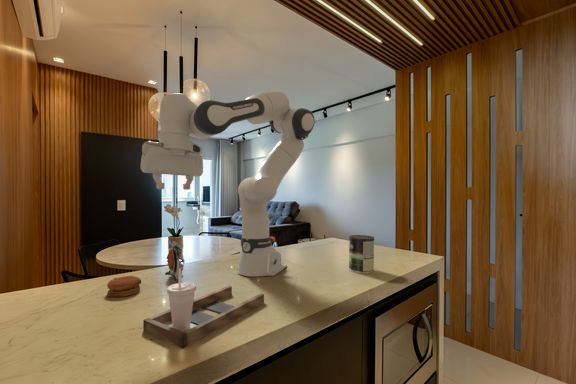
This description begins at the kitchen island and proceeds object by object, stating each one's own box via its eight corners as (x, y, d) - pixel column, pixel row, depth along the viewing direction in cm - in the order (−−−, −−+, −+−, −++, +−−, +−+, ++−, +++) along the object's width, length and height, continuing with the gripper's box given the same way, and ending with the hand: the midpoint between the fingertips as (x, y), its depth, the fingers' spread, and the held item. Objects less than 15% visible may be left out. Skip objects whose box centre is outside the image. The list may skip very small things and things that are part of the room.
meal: (162, 274, 108) (163, 241, 108) (174, 272, 110) (174, 240, 110) (172, 284, 95) (172, 247, 96) (184, 282, 98) (185, 245, 98)
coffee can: (350, 273, 111) (350, 238, 111) (348, 266, 121) (348, 234, 121) (376, 274, 109) (376, 239, 109) (372, 267, 119) (372, 235, 120)
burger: (136, 296, 84) (136, 281, 85) (102, 299, 82) (102, 284, 82) (143, 286, 94) (143, 272, 94) (112, 289, 91) (112, 275, 91)
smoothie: (161, 328, 63) (162, 267, 64) (187, 319, 68) (188, 263, 68) (174, 338, 59) (174, 273, 59) (201, 327, 64) (201, 267, 64)
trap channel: (228, 293, 87) (228, 285, 87) (264, 302, 80) (264, 294, 80) (143, 330, 63) (143, 319, 63) (182, 348, 56) (182, 336, 56)
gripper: (149, 138, 76) (148, 188, 75) (206, 149, 93) (205, 189, 93) (136, 140, 79) (135, 188, 79) (193, 150, 96) (193, 189, 96)
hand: (174, 189), depth 86 cm, fingers open, 8 cm apart
